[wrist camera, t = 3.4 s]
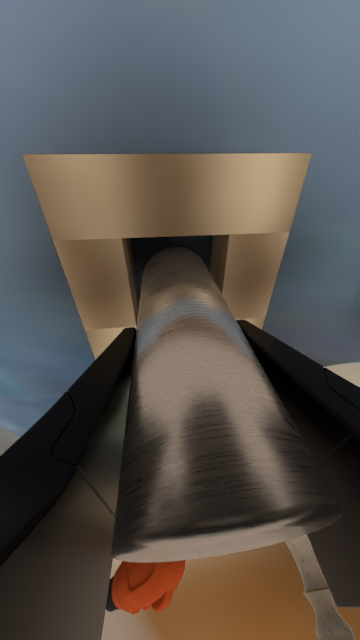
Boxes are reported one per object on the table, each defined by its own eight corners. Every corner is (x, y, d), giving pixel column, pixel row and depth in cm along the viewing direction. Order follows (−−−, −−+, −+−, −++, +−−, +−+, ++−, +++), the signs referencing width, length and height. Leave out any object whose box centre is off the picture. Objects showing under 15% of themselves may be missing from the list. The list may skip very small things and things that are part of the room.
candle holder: (293, 447, 37) (405, 667, 20) (286, 465, 42) (370, 653, 26) (245, 456, 37) (318, 682, 21) (244, 473, 42) (301, 665, 26)
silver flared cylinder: (209, 245, 12) (397, 487, 3) (205, 306, 14) (297, 543, 5) (138, 248, 11) (78, 534, 2) (146, 309, 14) (130, 570, 5)
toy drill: (89, 492, 35) (62, 657, 23) (153, 430, 30) (167, 599, 17) (114, 495, 37) (103, 647, 25) (179, 437, 32) (207, 593, 19)
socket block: (274, 158, 12) (312, 153, 9) (240, 324, 19) (255, 351, 16) (56, 159, 11) (22, 154, 8) (106, 334, 18) (97, 364, 15)
